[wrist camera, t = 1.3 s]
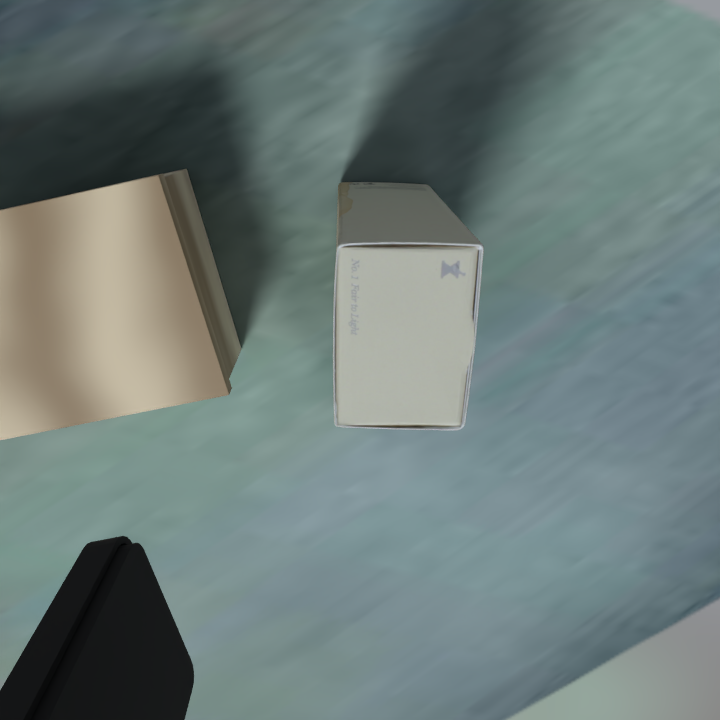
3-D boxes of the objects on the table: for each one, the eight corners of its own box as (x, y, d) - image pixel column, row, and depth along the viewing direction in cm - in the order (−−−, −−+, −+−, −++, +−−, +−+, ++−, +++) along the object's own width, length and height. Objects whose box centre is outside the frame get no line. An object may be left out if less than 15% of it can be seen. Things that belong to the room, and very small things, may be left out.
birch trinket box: (189, 163, 28) (158, 175, 24) (246, 351, 32) (228, 394, 27) (-68, 220, 29) (-147, 243, 24) (16, 398, 33) (-39, 447, 28)
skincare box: (337, 180, 29) (329, 232, 17) (434, 183, 29) (488, 236, 17) (335, 311, 31) (327, 430, 20) (424, 313, 31) (466, 433, 20)
